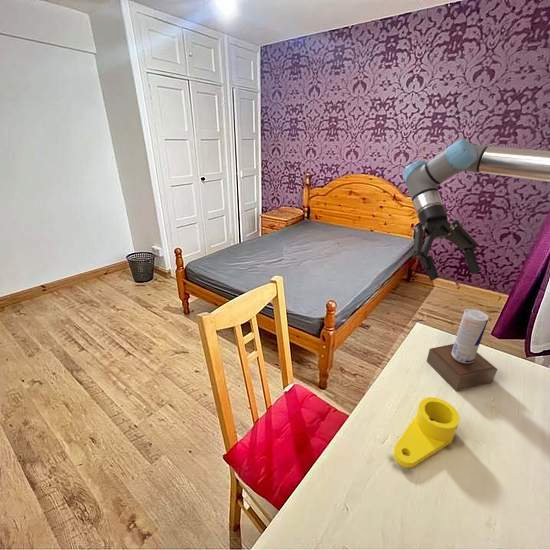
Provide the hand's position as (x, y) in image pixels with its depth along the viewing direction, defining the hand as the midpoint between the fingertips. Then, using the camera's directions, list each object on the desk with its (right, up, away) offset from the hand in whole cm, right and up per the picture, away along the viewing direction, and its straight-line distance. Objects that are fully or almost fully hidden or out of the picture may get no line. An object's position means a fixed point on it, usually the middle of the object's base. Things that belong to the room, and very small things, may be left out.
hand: (455, 276), depth 86 cm
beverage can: (+3, -24, +2) cm, 24 cm away
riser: (+3, -28, +4) cm, 28 cm away
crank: (-17, -38, -15) cm, 44 cm away
